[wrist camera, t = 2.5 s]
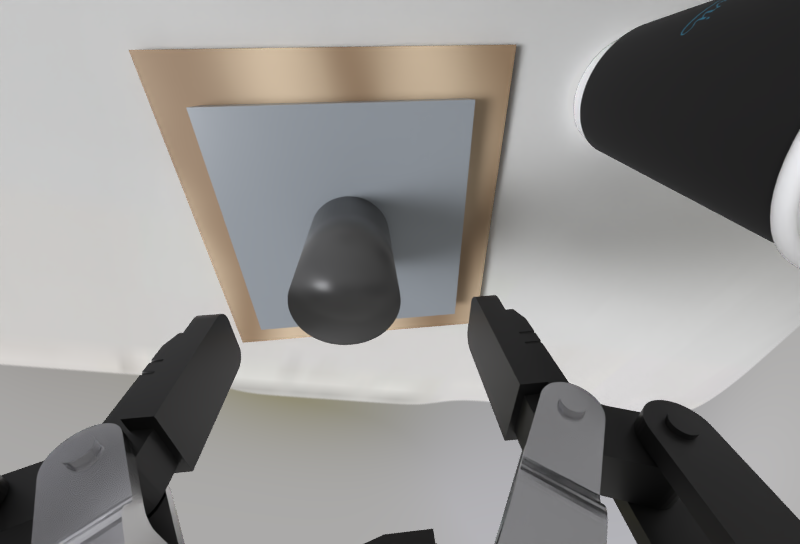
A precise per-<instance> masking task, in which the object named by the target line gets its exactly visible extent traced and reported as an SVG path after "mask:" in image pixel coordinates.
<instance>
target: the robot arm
mask: <svg viewBox="0 0 800 544" xmlns="http://www.w3.org/2000/svg"><path fill="white" fill-rule="evenodd" d="M540 341H541V340H540V339H539V338H538V336H537V335H536V333H534V330H533V329H532V327H531V326H530V324H529V323H528V321H527V320H526V319H525V318H524V317H523V316H521V315H520V314H519V313H517V312H516V311H515V310H514V309H509V310H505V308H504V307H503V305H502V303H501V302H500V300H499V298H498V297H497V296H496V295H492V296H478V297H473V298H472V300H471V307H470V316H469V324H468V344H469V348H470V351H471V354H472V356H473V359H474V362H475V364H476V367H477V369H478V372H479V375H480V377H481V380H482V382H483V385H484V388H485V390H486V393H487V396H488V398H489V401H490V403H491V406H492V409H493V411H494V414H495V416H496V419H497V421H498V424H499V427H500V429H501V432H502V435H503V437H504V440H516V439H518V441H519V444H520V446H521V448H522V452H521V456H520V459H519V462H518V466H517V469H516V473H515V476H514V480H513V483H512V487H511V490H510V493H509V497H508V500H507V504H506V507H505V510H504V514H503V517H502V521H501V524H500V527H499V530H498V533H497V537H496V540H495V544H606V543H607V523H608V520H607V510H606V507H605V505H604V504H602V503H601V502H600V495H602V496H606V497H610V498H613V499H614V501H615V503H616V505H617V507H618V509H619V510H620V512H621V514H622V516H623V518H624V520H625V521H626V523H627V525H628V527H629V529H630V531H631V533H632V535H633V537H634V538H635V540H636V542H637V544H800V520H799V519H798V518H797V517H796V516H795V515H794V514H793V513H792V511H790V509H789V508H788V507H787V506H786V505H785V504H784V503H783V502H782V501H781V500H780V499H779V498H778V497H777V495H776V494H775V493H774V492H773V491H772V490H771V489H770V488H769V487H768V486H767V485H766V484H765V483H764V482H763V480H762V479H761V478H760V477H759V476H758V475H757V474H756V473H755V472H754V471H753V470H752V469H751V468H750V467H749V465H748V464H747V463H746V462H745V461H744V460H743V459H742V458H741V457H740V456H739V455H738V454H737V453H736V452H735V450H734V449H733V448H732V447H731V446H730V445H729V444H728V443H727V442H726V441H725V440H724V439H723V438H722V437H721V436H720V434H719V433H718V432H717V431H716V430H715V429H714V428H713V427H712V426H711V425H710V424H709V423H708V422H707V421H706V420H705V419H703V418H702V417H701V416H699V415H698V414H697V413H695V412H693V411H692V410H690V409H688V408H686V407H684V406H682V405H679V404H677V403H674V402H670V401H665V400H654V401H651V402H648V403H647V404H646V405H645V406H644V408H643V409H642V411H641V412H636V411H630V410H625V409H620V408H615V407H610V406H605V405H602V404H600V403H599V402H598V401H597V399H596V398H595V397H594V396H593V395H591V394H590V393H589V392H587V391H586V390H584V389H583V388H581V387H579V386H576V385H574V384H571V383H569V382H568V381H567V379H566V378H565V376H564V375H563V373H562V372H561V370H560V369H559V367H558V366H557V364H556V363H555V361H554V360H553V358H552V357H551V355H550V354H549V352H548V351H547V349H546V348H545V346H544V345H543V343H541V342H540ZM240 362H241V351H240V348H239V345H238V343H237V340H236V338H235V335H234V333H233V330H232V328H231V325H230V322H229V320H228V318H227V316H226V315H224V314H216V315H202V316H196V317H195V318H194V319H193V320H192V322H191V323H190V324H189V326H188V327H187V328H186V330H185V331H184V333H179V334H177V335H176V336H175V337H174V338H172V339H171V340H170V341H168V342H167V343H166V344H164V345H163V346H162V347H161V349H160V350H159V351H158V352H157V354H156V355H155V356H154V358H153V359H152V362H151V363H149V364H148V365H147V367H146V368H145V369H144V371H143V372H142V375H140V376H139V377H138V378H137V380H136V381H135V382H134V383H133V385H132V386H131V387H130V389H129V390H128V391H127V392H126V394H125V395H124V396H123V398H122V399H121V400H120V402H119V403H118V404H117V406H116V407H115V408H114V409H113V411H112V412H111V413H110V414H109V416H108V417H107V418H106V420H105V421H104V422H103V423H102V424H98V425H94V426H91V427H89V428H86V429H84V430H82V431H80V432H78V433H76V434H74V435H73V436H71V437H70V438H68V439H67V440H65V441H64V442H63V443H61V444H60V445H59V446H58V447H57V448H55V450H53V451H52V452H51V453H50V454H49V456H48V457H47V458H46V459H45V460H44V461H42V462H39V463H36V464H33V465H31V466H28V467H25V468H22V469H19V470H16V471H13V472H10V473H7V474H4V475H2V476H1V475H0V544H185V543H184V539H183V535H182V532H181V527H180V523H179V519H178V515H177V511H176V508H175V504H174V500H173V496H172V492H171V489H170V488H169V487H168V484H169V482H170V480H171V478H172V476H173V474H174V473H179V472H189V471H193V470H194V467H195V465H196V463H197V461H198V459H199V456H200V454H201V452H202V449H203V447H204V445H205V443H206V441H207V438H208V436H209V434H210V432H211V429H212V427H213V425H214V422H215V421H216V418H217V416H218V414H219V411H220V409H221V407H222V405H223V403H224V400H225V398H226V396H227V393H228V391H229V389H230V387H231V385H232V383H233V380H234V378H235V376H236V374H237V371H238V369H239V366H240ZM365 544H436V543H435V539H434V532H433V529H427V530H419V531H410V532H402V533H394V534H385V535H382V536H380V537H378V538H376V539H373V540H371V541H369V542H367V543H365Z"/></svg>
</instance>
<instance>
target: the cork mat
mask: <svg viewBox="0 0 800 544" xmlns="http://www.w3.org/2000/svg"><path fill="white" fill-rule="evenodd" d="M515 51H516V45H456V46H383V47H310V48H238V49H165V50H129V52H130V54H131V57H132V60H133V62H134V65H135V67H136V70H137V72H138V75H139V78H140V80H141V83H142V85H143V88H144V90H145V93H146V95H147V98H148V101H149V103H150V106H151V108H152V111H153V113H154V116H155V119H156V121H157V124H158V126H159V129H160V131H161V134H162V136H163V139H164V142H165V144H166V147H167V149H168V152H169V154H170V157H171V160H172V162H173V165H174V167H175V170H176V172H177V175H178V177H179V180H180V183H181V185H182V188H183V190H184V193H185V195H186V198H187V201H188V203H189V206H190V208H191V211H192V213H193V216H194V218H195V221H196V224H197V226H198V229H199V231H200V234H201V236H202V239H203V242H204V244H205V247H206V249H207V252H208V254H209V257H210V259H211V262H212V265H213V267H214V270H215V272H216V275H217V277H218V280H219V282H220V285H221V288H222V290H223V293H224V295H225V298H226V300H227V303H228V306H229V308H230V311H231V313H232V316H233V318H234V321H235V323H236V326H237V329H238V331H239V334H240V336H241V339H242V341H243V342H255V341H267V340H279V339H291V338H302V337H312V336H310V335H309V334H307V333H306V332H304V331H303V330H302V329H301V328H300V327H290V328H277V329H265V330H261V328H260V325H259V322H258V319H257V316H256V313H255V310H254V307H253V304H252V301H251V298H250V295H249V292H248V289H247V286H246V283H245V280H244V277H243V274H242V271H241V268H240V265H239V262H238V259H237V257H236V254H235V251H234V248H233V245H232V242H231V239H230V236H229V233H228V230H227V227H226V224H225V221H224V218H223V215H222V212H221V209H220V206H219V203H218V200H217V197H216V194H215V191H214V188H213V185H212V182H211V180H210V177H209V174H208V171H207V168H206V165H205V162H204V159H203V156H202V153H201V150H200V147H199V144H198V141H197V138H196V135H195V132H194V129H193V126H192V123H191V120H190V117H189V114H188V111H187V108H186V107H192V106H198V105H229V104H266V103H303V102H339V101H376V100H413V99H449V98H470V99H475V108H474V119H473V129H472V139H471V150H470V160H469V171H468V181H467V192H466V202H465V212H464V223H463V233H462V244H461V254H460V264H459V275H458V285H457V296H456V306H455V314H447V315H435V316H423V317H411V318H399V319H395V321H394V323H393V324H392V325H391V326H390V327H389V328H388V329H387V330H396V329H408V328H420V327H432V326H443V325H455V324H467V323H469V316H470V307H471V300H472V298H473V297H478V296H480V292H481V285H482V278H483V271H484V264H485V258H486V251H487V244H488V237H489V230H490V223H491V216H492V209H493V202H494V196H495V189H496V182H497V175H498V168H499V161H500V154H501V147H502V141H503V134H504V127H505V120H506V113H507V106H508V99H509V92H510V85H511V79H512V72H513V65H514V58H515Z"/></svg>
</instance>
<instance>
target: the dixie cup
mask: <svg viewBox="0 0 800 544" xmlns="http://www.w3.org/2000/svg"><path fill="white" fill-rule="evenodd" d="M574 119H575V123H576V126H577V128H578V130H579V131H580V133H581V134H582V135H583V136H584V137H585V138H586V139H587V141H588V142H589V143H590V144H591V145H592V146H593V147H594V148H595V149H597V150H599V151H600V152H602V153H604V154H606V155H608V156H610V157H612V158H614V159H616V160H617V161H619V162H621V163H623V164H625V165H627V166H629V167H631V168H633V169H635V170H636V171H638V172H640V173H642V174H644V175H646V176H648V177H650V178H652V179H653V180H655V181H657V182H659V183H661V184H663V185H665V186H667V187H669V188H671V189H672V190H674V191H676V192H678V193H680V194H682V195H684V196H686V197H688V198H690V199H691V200H693V201H695V202H697V203H699V204H701V205H703V206H705V207H707V208H708V209H710V210H712V211H714V212H716V213H718V214H720V215H722V216H724V217H726V218H727V219H729V220H731V221H733V222H735V223H737V224H739V225H741V226H743V227H744V228H746V229H748V230H750V231H752V232H754V233H756V234H758V235H760V236H762V237H763V238H765V239H767V240H769V241H771V242H773V243H775V246H776V248H777V250H778V251H779V252H780V254H781V255H782V256H783V257H784V258H785V259H786V260H787V261H788V262H790V263H791V264H792V265H794V266H796V267H797V268H799V269H800V0H713V1H710V2H707V3H704V4H701V5H698V6H695V7H693V8H690V9H687V10H684V11H681V12H678V13H675V14H673V15H670V16H667V17H664V18H661V19H658V20H655V21H653V22H650V23H647V24H644V25H642V26H639V27H637V28H635V29H633V30H631V31H630V32H628V33H627V34H625V35H624V36H622V37H621V38H620V39H618V40H616V41H614V42H613V43H611V44H610V45H608V46H607V47H606V48H605V49H603V50H602V51H601V52H600V53H599V54H598V55H597V56H596V57H595V58H594V60H593V61H592V62H591V63H590V65H589V66H588V67H587V69H586V71H585V72H584V74H583V76H582V78H581V80H580V82H579V85H578V88H577V91H576V94H575V99H574Z"/></svg>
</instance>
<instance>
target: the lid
mask: <svg viewBox="0 0 800 544" xmlns="http://www.w3.org/2000/svg"><path fill="white" fill-rule="evenodd" d="M186 108H187V111H188V114H189V117H190V120H191V123H192V126H193V129H194V132H195V135H196V138H197V141H198V144H199V147H200V150H201V153H202V156H203V159H204V162H205V165H206V168H207V171H208V174H209V177H210V180H211V182H212V185H213V188H214V191H215V194H216V197H217V200H218V203H219V206H220V209H221V212H222V215H223V218H224V221H225V224H226V227H227V230H228V233H229V236H230V239H231V242H232V245H233V248H234V251H235V254H236V257H237V259H238V262H239V265H240V268H241V271H242V274H243V277H244V280H245V283H246V286H247V289H248V292H249V295H250V298H251V301H252V304H253V307H254V310H255V313H256V316H257V319H258V322H259V325H260V328H261V330H265V329H277V328H290V327H300V328H301V329H302V330H303V331H304V332H306V333H307V334H309V335H310V336H312V337H314V338H316V339H318V340H321V341H323V342H327V343H331V344H338V345H352V344H359V343H363V342H366V341H369V340H372V339H374V338H376V337H378V336H379V335H381V334H382V333H384V332H385V331H386V330H387V329H388V328H389V327H390V326H391V325H392V324H393V323H394V321H395V319H399V318H411V317H423V316H435V315H447V314H455V306H456V296H457V285H458V275H459V264H460V254H461V244H462V233H463V223H464V212H465V202H466V192H467V181H468V171H469V160H470V150H471V139H472V129H473V119H474V108H475V99H470V98H449V99H413V100H376V101H339V102H303V103H266V104H229V105H198V106H192V107H186Z"/></svg>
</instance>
